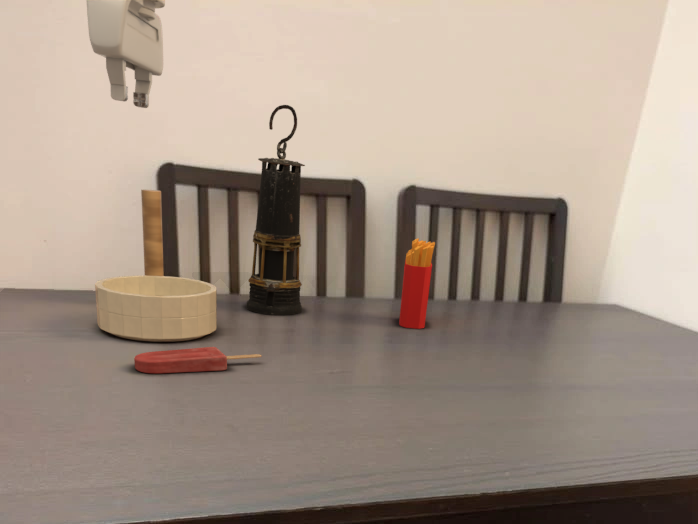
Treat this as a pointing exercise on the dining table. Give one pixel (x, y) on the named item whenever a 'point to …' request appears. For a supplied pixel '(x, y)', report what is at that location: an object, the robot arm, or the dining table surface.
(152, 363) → the popsicle
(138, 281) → the bowl
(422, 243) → the french fries
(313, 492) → the dining table surface
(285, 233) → the lantern
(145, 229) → the stirring stick
